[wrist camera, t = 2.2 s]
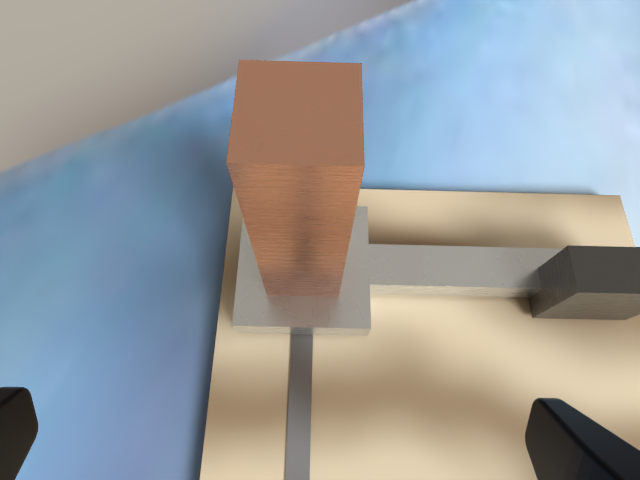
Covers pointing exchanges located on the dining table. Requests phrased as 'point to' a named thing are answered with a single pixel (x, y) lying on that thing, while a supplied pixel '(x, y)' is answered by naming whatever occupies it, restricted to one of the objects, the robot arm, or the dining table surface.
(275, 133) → the slider
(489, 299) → the press base
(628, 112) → the dining table surface
